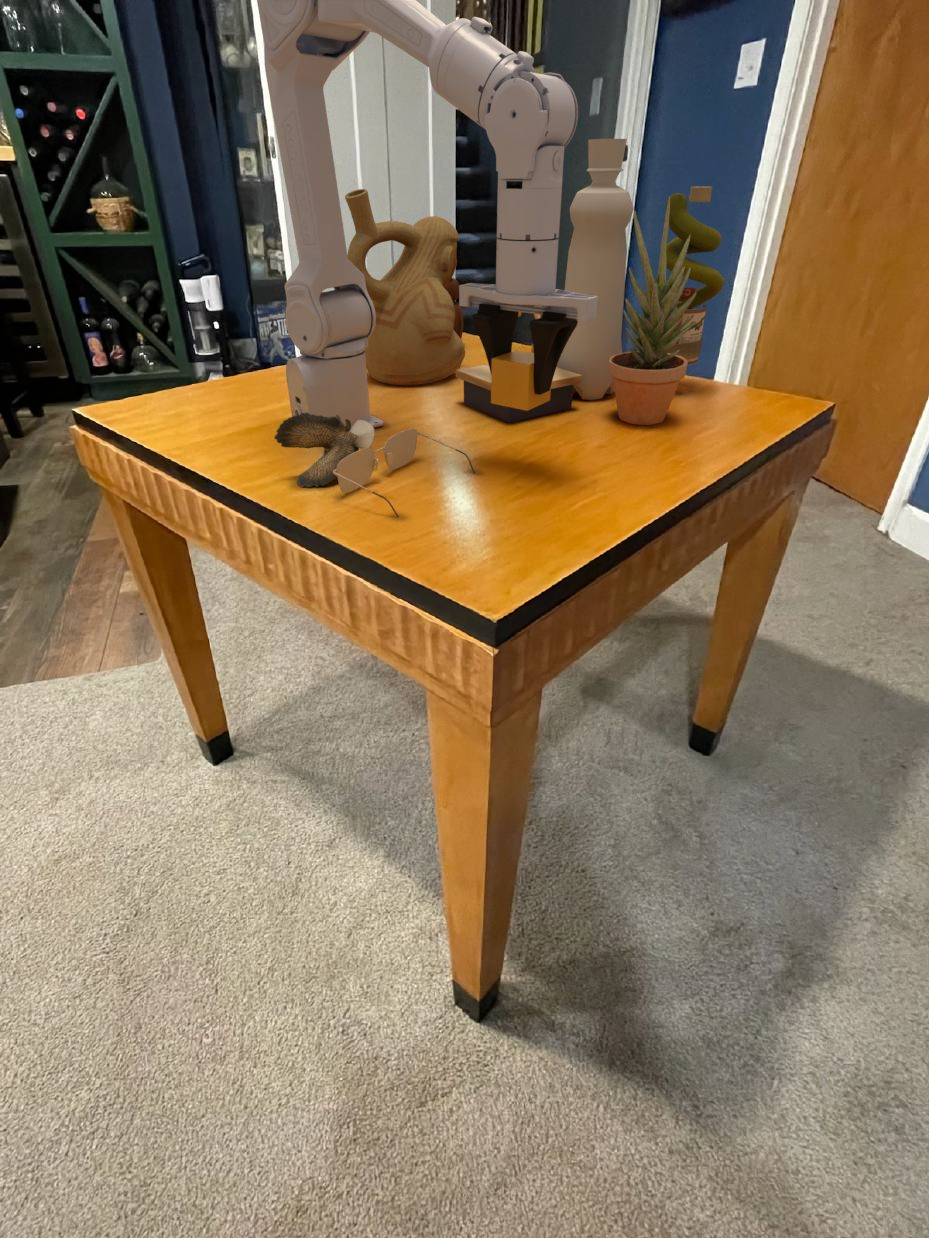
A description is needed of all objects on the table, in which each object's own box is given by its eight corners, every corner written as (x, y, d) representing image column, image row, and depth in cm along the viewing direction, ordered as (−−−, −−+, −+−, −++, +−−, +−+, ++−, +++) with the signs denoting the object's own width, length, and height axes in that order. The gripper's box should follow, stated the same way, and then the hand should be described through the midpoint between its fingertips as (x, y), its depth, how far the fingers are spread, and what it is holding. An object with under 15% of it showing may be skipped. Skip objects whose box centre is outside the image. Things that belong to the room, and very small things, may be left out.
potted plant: (588, 413, 91) (609, 194, 77) (645, 403, 94) (674, 192, 81) (637, 435, 83) (669, 197, 70) (696, 423, 87) (738, 195, 73)
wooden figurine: (462, 350, 122) (462, 255, 113) (430, 350, 122) (427, 255, 114) (463, 342, 127) (463, 251, 119) (432, 342, 127) (430, 251, 119)
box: (507, 425, 87) (508, 389, 84) (456, 403, 95) (455, 369, 93) (579, 409, 92) (582, 375, 90) (524, 389, 101) (525, 357, 98)
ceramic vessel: (491, 374, 108) (494, 186, 94) (394, 399, 97) (380, 191, 83) (421, 356, 118) (414, 185, 104) (326, 377, 107) (304, 188, 93)
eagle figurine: (322, 441, 79) (262, 450, 72) (349, 392, 75) (288, 396, 68) (364, 488, 78) (307, 502, 71) (394, 441, 73) (337, 450, 66)
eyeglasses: (418, 457, 78) (419, 423, 75) (477, 477, 74) (479, 442, 72) (333, 500, 68) (330, 462, 66) (396, 525, 65) (396, 486, 62)
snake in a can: (661, 375, 107) (689, 185, 93) (717, 388, 100) (756, 186, 86) (611, 388, 101) (634, 187, 87) (668, 403, 94) (702, 189, 80)
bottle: (541, 395, 98) (555, 139, 82) (572, 381, 104) (591, 141, 88) (598, 405, 94) (625, 137, 77) (628, 390, 100) (658, 139, 83)
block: (527, 411, 69) (529, 364, 66) (490, 403, 71) (491, 358, 69) (550, 400, 72) (553, 355, 69) (514, 393, 74) (515, 350, 72)
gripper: (618, 239, 62) (602, 390, 70) (488, 231, 70) (486, 369, 77) (581, 245, 58) (568, 407, 65) (445, 236, 65) (447, 383, 72)
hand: (521, 388), depth 71 cm, fingers closed on block, 4 cm apart
